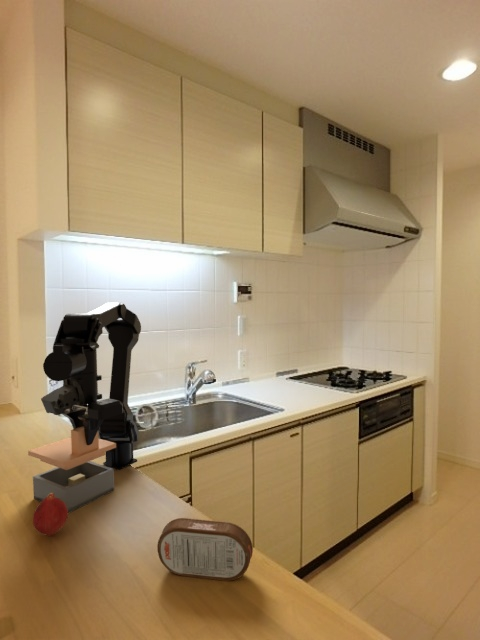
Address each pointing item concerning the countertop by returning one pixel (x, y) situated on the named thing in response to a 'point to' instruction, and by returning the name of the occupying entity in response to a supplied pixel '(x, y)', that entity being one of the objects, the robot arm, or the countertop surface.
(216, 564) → the tin
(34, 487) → the tub
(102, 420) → the robot arm
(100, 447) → the lid
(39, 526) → the onion
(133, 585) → the countertop surface
